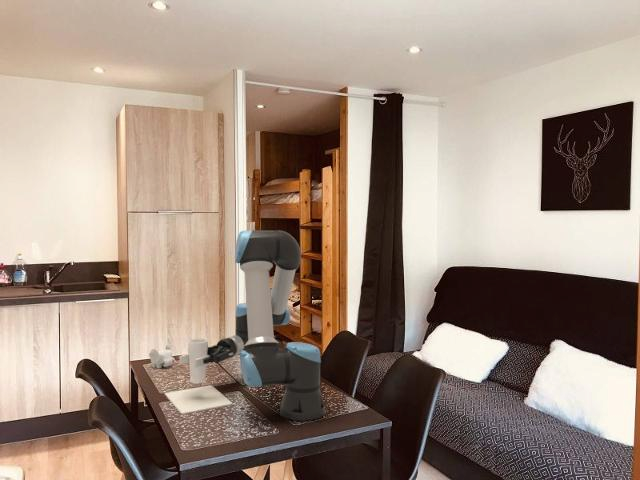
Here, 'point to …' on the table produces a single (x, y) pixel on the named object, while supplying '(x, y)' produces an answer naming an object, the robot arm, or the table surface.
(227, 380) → the table surface
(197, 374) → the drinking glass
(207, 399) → the felt placemat
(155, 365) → the elephant figurine
